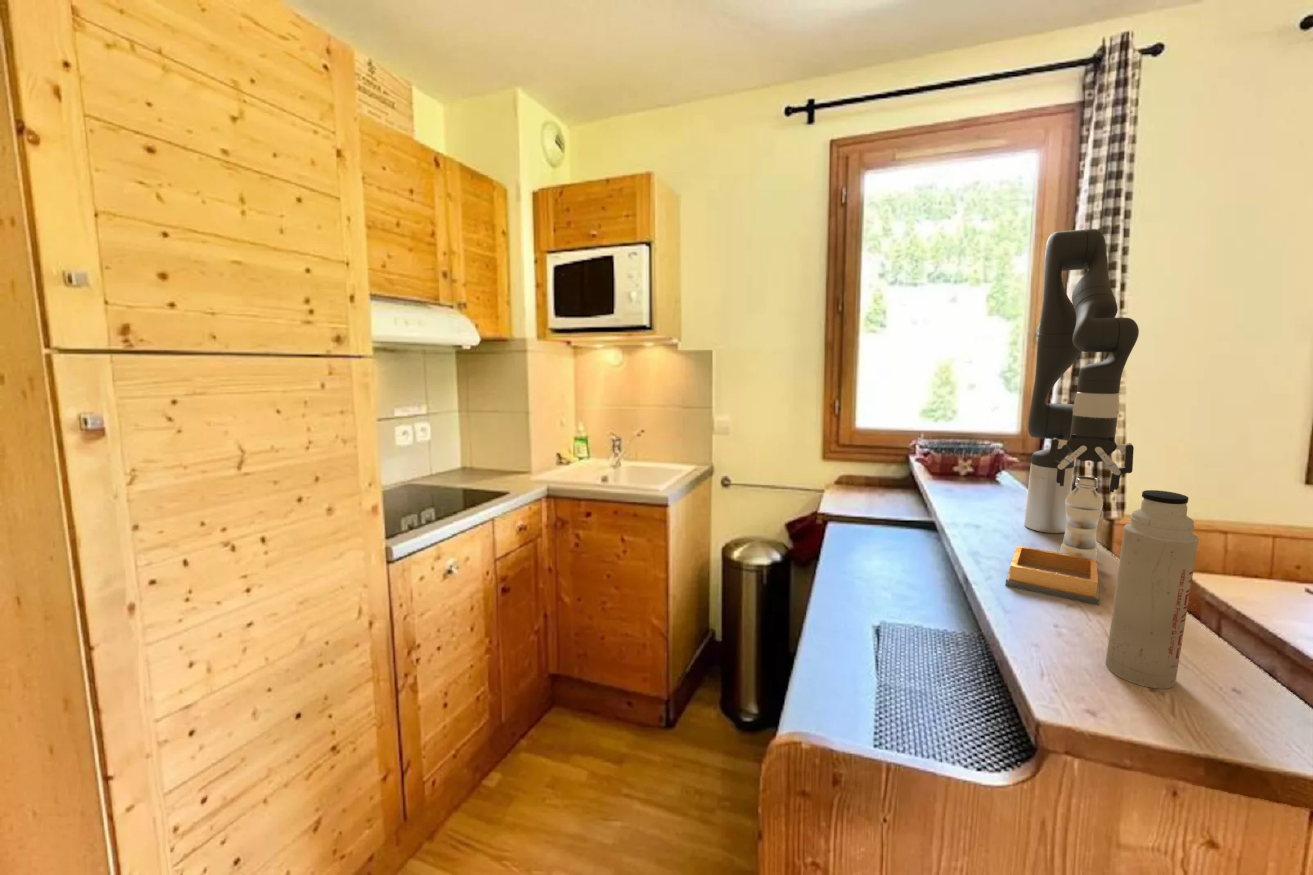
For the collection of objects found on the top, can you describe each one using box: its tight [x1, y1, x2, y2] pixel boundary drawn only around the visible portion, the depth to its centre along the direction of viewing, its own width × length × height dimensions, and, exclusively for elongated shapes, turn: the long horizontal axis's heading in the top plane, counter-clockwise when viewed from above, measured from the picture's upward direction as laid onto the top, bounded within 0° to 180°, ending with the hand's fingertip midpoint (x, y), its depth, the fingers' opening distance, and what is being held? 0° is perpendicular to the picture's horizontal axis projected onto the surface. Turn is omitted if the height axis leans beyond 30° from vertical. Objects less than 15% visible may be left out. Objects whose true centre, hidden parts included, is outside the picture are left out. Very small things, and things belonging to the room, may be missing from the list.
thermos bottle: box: [1105, 489, 1199, 690], centre depth 81 cm, size 8×8×28 cm
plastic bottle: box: [1059, 475, 1104, 560], centre depth 121 cm, size 6×7×20 cm
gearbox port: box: [1005, 545, 1100, 606], centre depth 114 cm, size 15×15×4 cm
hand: (1085, 488), depth 120 cm, fingers open, 8 cm apart
